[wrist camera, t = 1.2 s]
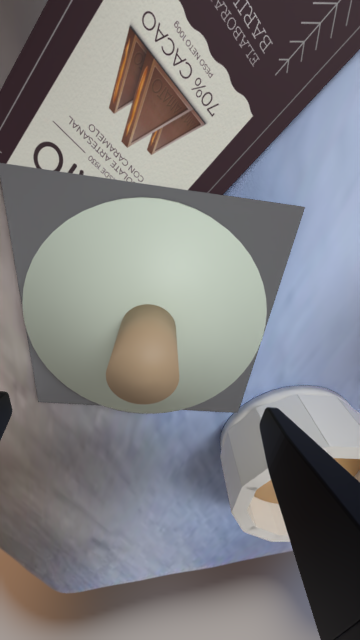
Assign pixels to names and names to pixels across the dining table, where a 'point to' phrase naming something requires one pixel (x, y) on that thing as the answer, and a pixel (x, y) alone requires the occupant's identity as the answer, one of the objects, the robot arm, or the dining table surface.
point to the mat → (88, 191)
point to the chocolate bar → (168, 85)
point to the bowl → (249, 457)
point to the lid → (144, 305)
